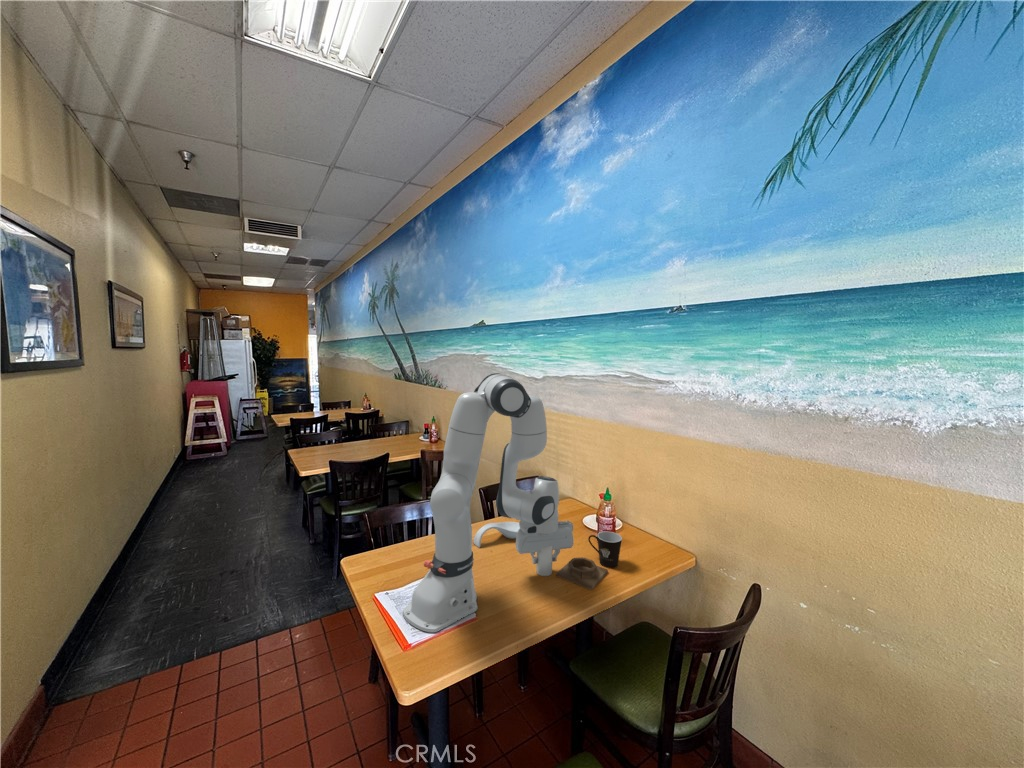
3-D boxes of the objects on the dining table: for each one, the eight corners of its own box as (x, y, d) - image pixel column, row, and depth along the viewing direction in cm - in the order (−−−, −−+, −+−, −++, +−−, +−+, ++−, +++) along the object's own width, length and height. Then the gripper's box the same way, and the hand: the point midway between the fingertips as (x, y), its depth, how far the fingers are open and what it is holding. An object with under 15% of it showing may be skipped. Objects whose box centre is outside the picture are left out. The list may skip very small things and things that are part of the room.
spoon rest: (516, 527, 169) (516, 511, 169) (532, 537, 159) (533, 520, 159) (468, 541, 155) (469, 523, 155) (483, 553, 146) (484, 534, 145)
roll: (546, 578, 129) (547, 549, 129) (533, 572, 133) (534, 544, 132) (554, 571, 134) (555, 543, 133) (541, 566, 137) (542, 538, 136)
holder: (591, 590, 123) (591, 579, 123) (556, 575, 131) (556, 565, 131) (607, 572, 134) (608, 562, 133) (574, 560, 141) (574, 551, 141)
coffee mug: (626, 566, 138) (627, 539, 137) (608, 572, 134) (609, 544, 133) (603, 551, 148) (604, 526, 147) (586, 557, 144) (586, 531, 143)
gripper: (569, 516, 138) (568, 554, 139) (514, 521, 132) (514, 560, 133) (577, 524, 132) (576, 563, 133) (519, 529, 126) (519, 570, 127)
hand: (544, 561), depth 133 cm, fingers closed on roll, 5 cm apart
